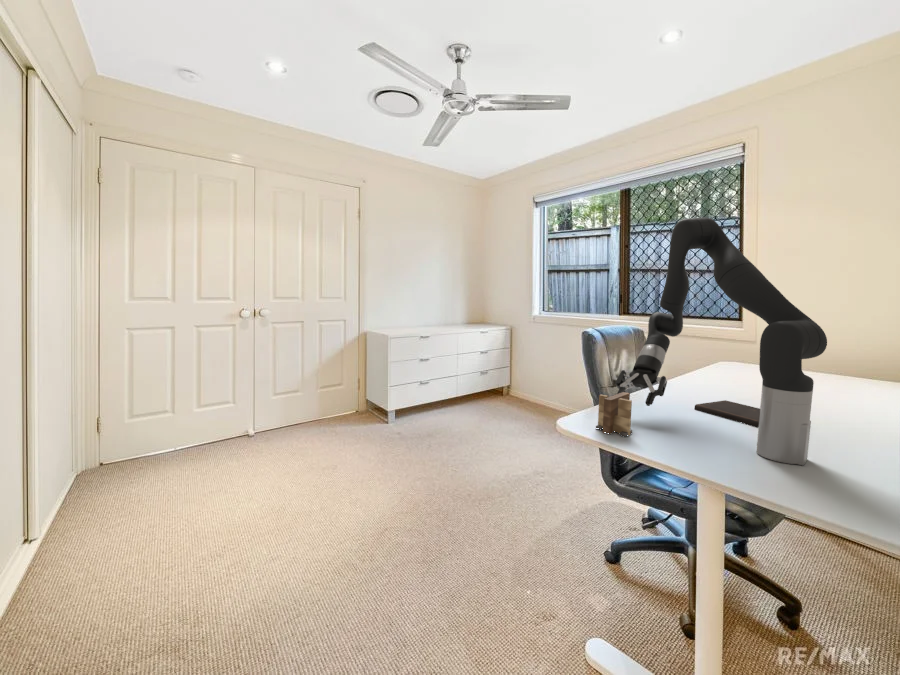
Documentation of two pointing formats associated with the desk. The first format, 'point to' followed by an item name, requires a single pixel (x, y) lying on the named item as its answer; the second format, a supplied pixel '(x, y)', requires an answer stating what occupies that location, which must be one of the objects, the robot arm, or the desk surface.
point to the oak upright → (617, 416)
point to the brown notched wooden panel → (612, 410)
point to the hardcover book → (731, 411)
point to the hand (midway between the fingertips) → (633, 401)
